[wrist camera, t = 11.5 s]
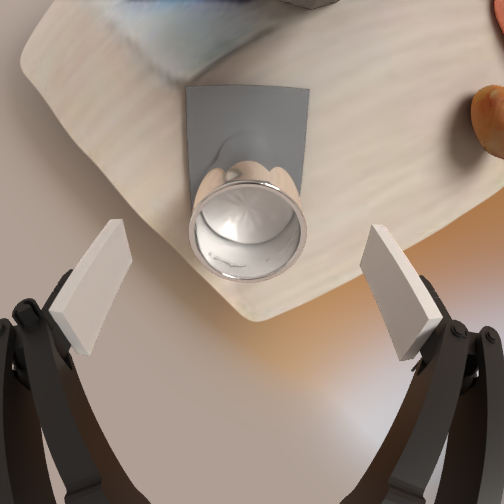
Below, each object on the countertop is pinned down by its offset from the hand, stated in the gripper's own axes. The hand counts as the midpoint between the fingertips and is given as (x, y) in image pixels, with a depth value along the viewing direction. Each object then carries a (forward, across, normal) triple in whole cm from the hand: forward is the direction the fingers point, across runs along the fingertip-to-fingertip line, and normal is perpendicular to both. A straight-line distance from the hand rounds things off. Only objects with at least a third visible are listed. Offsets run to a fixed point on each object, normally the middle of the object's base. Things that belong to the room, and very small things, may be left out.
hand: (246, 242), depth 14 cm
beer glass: (+16, 0, -1) cm, 16 cm away
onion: (+18, +31, +10) cm, 37 cm away
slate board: (+17, 0, -1) cm, 17 cm away
